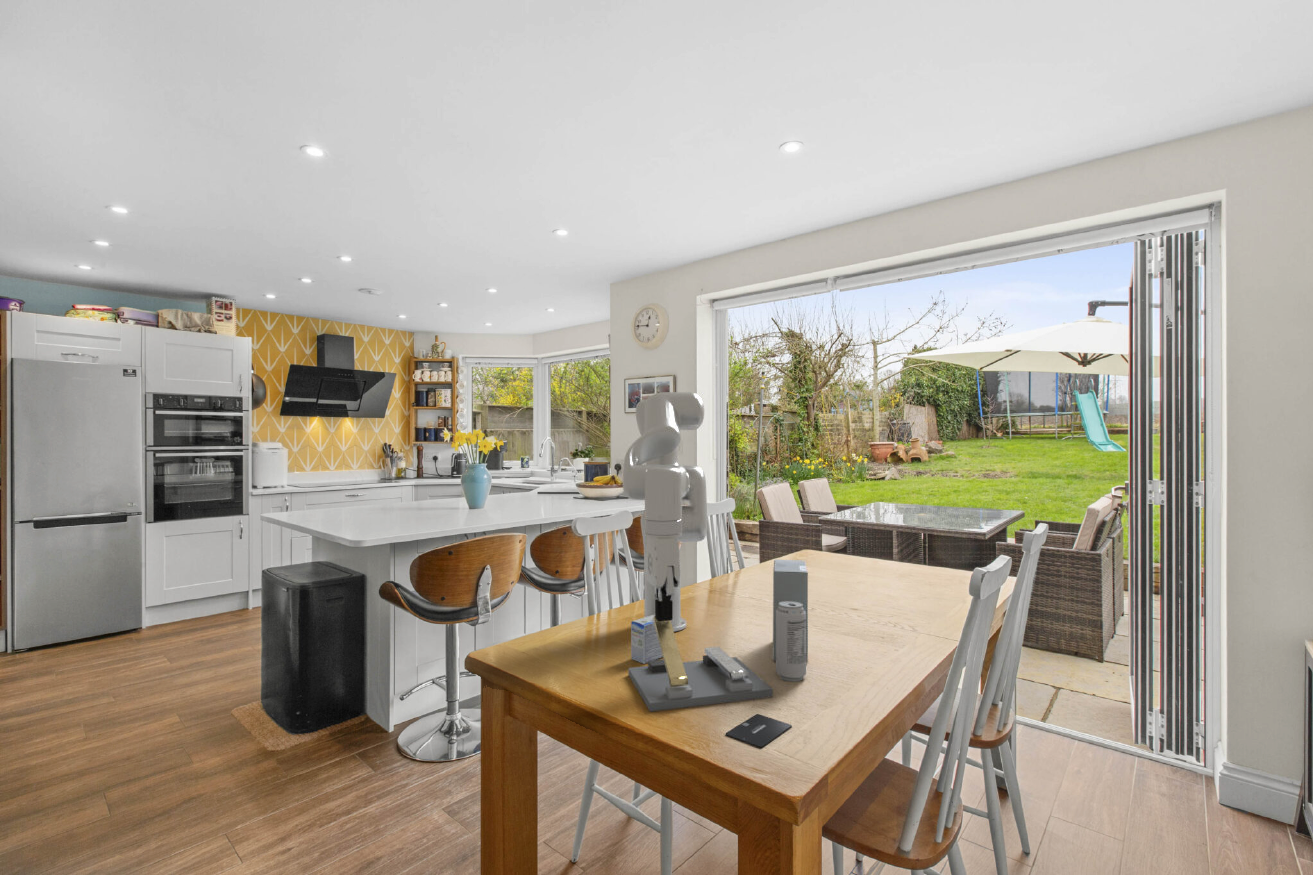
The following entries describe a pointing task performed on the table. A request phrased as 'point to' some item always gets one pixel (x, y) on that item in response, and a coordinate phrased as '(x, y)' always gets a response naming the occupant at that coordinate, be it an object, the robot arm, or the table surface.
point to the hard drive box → (789, 590)
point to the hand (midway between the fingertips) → (663, 619)
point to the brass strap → (670, 653)
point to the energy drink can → (791, 641)
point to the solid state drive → (758, 730)
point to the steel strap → (726, 663)
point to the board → (695, 685)
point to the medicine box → (644, 640)
